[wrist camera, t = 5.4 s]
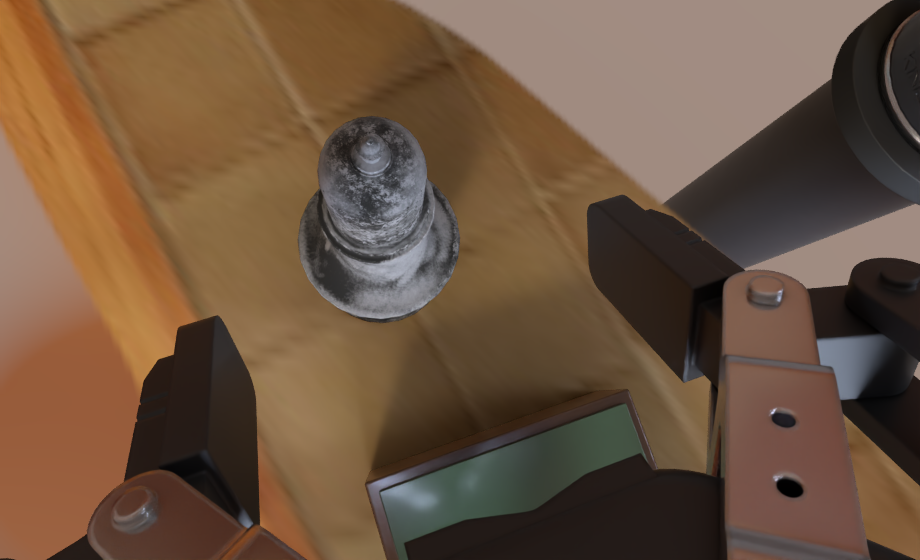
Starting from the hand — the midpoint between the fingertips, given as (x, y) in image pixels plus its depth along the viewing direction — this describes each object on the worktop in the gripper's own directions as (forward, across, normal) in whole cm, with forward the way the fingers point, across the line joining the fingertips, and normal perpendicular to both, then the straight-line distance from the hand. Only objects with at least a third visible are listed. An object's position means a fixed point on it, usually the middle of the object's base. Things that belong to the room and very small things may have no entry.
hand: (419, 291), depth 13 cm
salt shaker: (+11, 0, +6) cm, 13 cm away
